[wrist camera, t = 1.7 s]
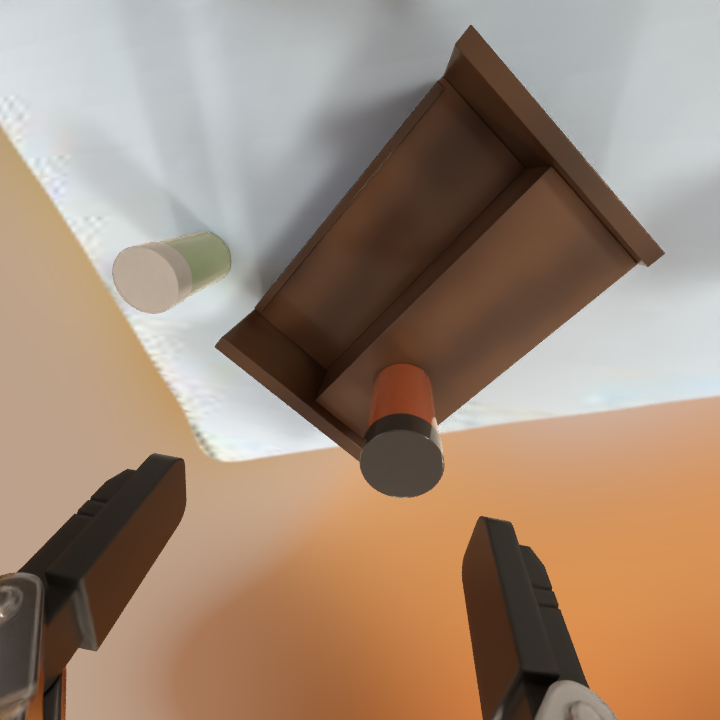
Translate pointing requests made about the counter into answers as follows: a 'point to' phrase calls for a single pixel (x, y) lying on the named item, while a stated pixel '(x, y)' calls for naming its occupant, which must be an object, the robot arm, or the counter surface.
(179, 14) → the counter surface
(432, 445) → the pepper shaker
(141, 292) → the cylinder
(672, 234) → the counter surface
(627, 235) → the spice rack
